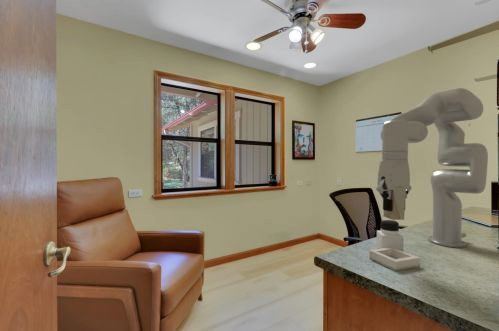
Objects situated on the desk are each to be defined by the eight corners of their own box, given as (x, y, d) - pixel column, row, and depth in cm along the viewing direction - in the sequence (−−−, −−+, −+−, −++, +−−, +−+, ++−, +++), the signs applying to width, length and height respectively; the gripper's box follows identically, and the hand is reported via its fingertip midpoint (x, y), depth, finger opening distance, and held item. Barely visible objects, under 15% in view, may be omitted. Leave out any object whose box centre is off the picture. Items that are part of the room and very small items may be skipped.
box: (383, 216, 85) (383, 185, 84) (394, 216, 85) (395, 185, 85) (393, 220, 79) (393, 186, 79) (405, 220, 80) (406, 186, 80)
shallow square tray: (391, 255, 89) (391, 247, 89) (419, 266, 79) (419, 257, 79) (369, 258, 86) (369, 250, 86) (395, 271, 76) (396, 261, 76)
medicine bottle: (403, 255, 89) (403, 223, 88) (382, 254, 90) (382, 222, 90) (395, 249, 96) (396, 219, 95) (376, 247, 97) (376, 218, 97)
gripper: (402, 157, 88) (402, 206, 89) (366, 156, 83) (365, 209, 83) (423, 157, 81) (422, 210, 81) (385, 156, 76) (384, 213, 76)
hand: (394, 209), depth 82 cm, fingers closed on box, 5 cm apart
